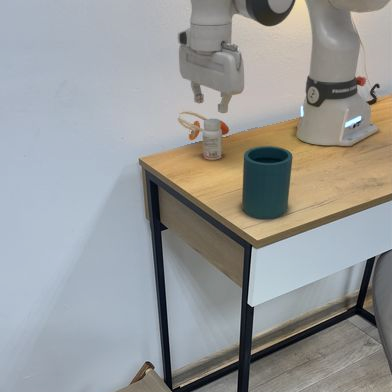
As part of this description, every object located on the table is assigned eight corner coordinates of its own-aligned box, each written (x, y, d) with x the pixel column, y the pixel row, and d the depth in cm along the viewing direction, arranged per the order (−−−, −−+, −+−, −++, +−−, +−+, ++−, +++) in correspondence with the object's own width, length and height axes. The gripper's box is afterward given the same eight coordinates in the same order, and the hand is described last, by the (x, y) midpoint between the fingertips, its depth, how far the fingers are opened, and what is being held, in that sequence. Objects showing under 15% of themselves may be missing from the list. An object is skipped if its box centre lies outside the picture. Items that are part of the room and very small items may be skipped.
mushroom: (169, 136, 127) (213, 162, 136) (189, 117, 121) (233, 145, 130) (169, 114, 130) (212, 141, 139) (188, 94, 124) (231, 123, 133)
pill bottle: (211, 151, 125) (210, 116, 119) (226, 155, 123) (226, 120, 117) (199, 157, 122) (198, 122, 117) (214, 161, 120) (214, 125, 114)
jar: (266, 194, 106) (270, 142, 99) (296, 210, 100) (302, 156, 93) (233, 206, 102) (234, 153, 95) (261, 223, 97) (265, 168, 89)
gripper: (253, 44, 100) (249, 116, 109) (196, 29, 113) (197, 95, 122) (228, 48, 98) (226, 121, 107) (173, 33, 110) (175, 99, 119)
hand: (210, 107), depth 115 cm, fingers open, 8 cm apart
